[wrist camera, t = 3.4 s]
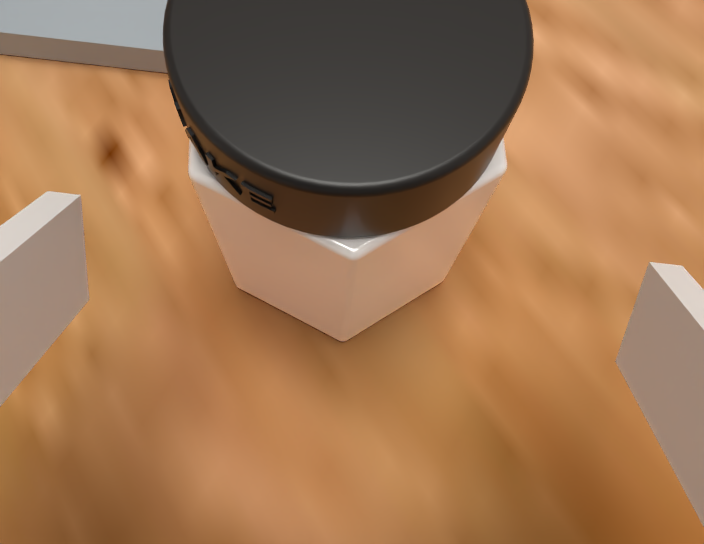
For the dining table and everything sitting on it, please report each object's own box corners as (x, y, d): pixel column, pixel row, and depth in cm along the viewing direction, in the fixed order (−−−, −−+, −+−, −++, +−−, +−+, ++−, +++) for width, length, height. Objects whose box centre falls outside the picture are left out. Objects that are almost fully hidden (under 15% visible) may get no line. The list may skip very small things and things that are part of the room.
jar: (232, 127, 27) (166, -138, 16) (433, 124, 27) (510, -137, 16) (229, 346, 24) (145, 218, 13) (452, 339, 25) (563, 208, 13)
